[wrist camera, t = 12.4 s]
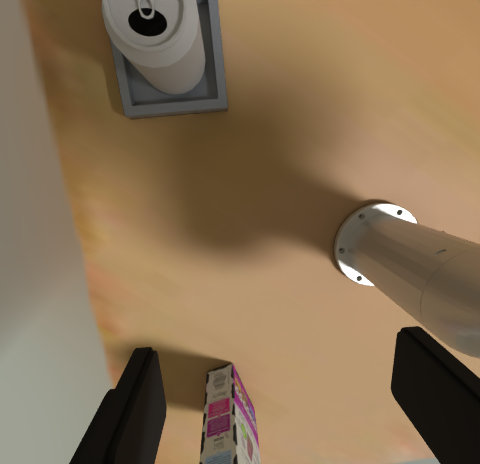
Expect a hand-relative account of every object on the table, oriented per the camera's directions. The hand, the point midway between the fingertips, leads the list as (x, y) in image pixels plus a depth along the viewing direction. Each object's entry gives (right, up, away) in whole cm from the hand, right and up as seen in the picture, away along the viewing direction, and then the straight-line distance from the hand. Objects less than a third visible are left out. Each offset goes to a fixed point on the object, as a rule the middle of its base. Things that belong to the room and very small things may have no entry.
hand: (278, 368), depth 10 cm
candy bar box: (-3, -22, +35) cm, 41 cm away
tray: (-10, +26, +21) cm, 34 cm away
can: (-9, +25, +21) cm, 34 cm away
